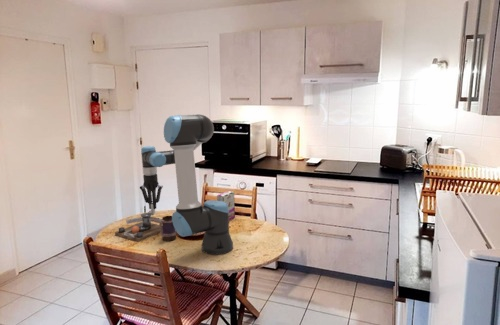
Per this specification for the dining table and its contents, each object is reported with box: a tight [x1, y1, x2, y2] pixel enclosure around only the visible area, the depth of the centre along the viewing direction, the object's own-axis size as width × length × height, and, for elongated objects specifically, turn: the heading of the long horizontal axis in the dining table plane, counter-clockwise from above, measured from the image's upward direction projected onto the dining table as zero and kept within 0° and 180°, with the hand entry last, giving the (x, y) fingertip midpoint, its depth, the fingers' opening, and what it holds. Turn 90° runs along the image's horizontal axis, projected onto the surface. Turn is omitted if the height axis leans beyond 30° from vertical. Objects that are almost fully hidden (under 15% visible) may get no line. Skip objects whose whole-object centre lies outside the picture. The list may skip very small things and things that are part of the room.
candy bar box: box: [216, 190, 236, 221], centre depth 210 cm, size 11×5×16 cm, turn 147°
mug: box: [158, 215, 177, 242], centre depth 181 cm, size 10×7×12 cm
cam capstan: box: [125, 210, 162, 232], centre depth 195 cm, size 19×16×8 cm
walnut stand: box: [114, 221, 160, 243], centre depth 192 cm, size 18×20×4 cm
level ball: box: [132, 225, 139, 233], centre depth 187 cm, size 4×4×4 cm
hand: (153, 214), depth 201 cm, fingers closed
